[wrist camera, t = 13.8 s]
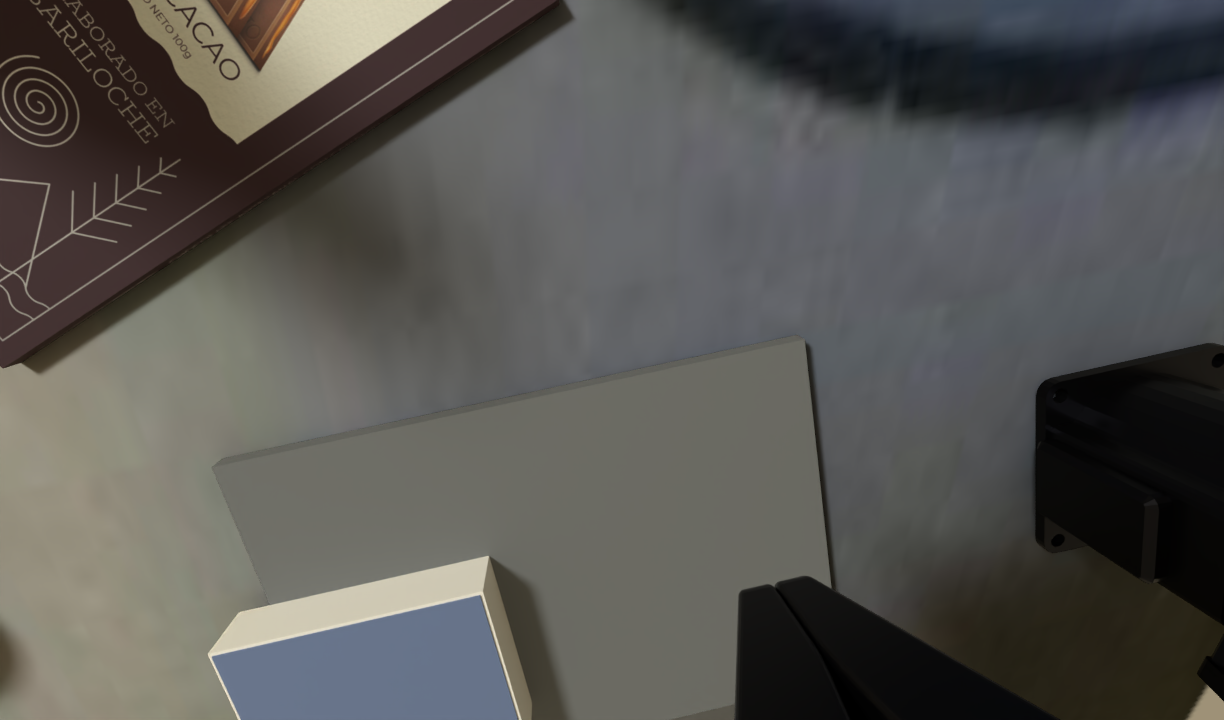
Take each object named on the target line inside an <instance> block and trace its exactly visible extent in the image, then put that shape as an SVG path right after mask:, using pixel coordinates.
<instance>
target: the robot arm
mask: <svg viewBox="0 0 1224 720" xmlns="http://www.w3.org/2000/svg"><path fill="white" fill-rule="evenodd" d="M1057 390H1058V393H1057V395H1056V396H1055V397H1054V398H1053V395H1054V393H1055V392H1056V391H1057ZM1053 537H1054V538H1053ZM1052 538H1053V539H1052ZM1036 541H1037V543H1038V544H1039V545H1040V546H1042V547H1043V548H1045V549H1046V550H1047V551H1049V552H1052V553H1057V552H1062V551H1066V550H1071V549H1075V548H1079V547H1083V546H1090V547H1091V548H1093V549H1095V550H1096V551H1098V552H1099V553H1101V554H1102V555H1104V556H1105V557H1107V558H1108V559H1110V560H1111V561H1113V562H1114V563H1116V564H1117V565H1119V566H1120V567H1122V568H1123V569H1125V570H1126V571H1128V572H1129V573H1131V574H1132V575H1134V576H1135V577H1137V578H1138V579H1140V580H1142V581H1143V582H1145V583H1148V584H1150V583H1155V582H1157V583H1159V584H1160V585H1162V586H1163V587H1165V588H1166V589H1168V590H1170V591H1171V592H1173V593H1174V594H1176V595H1177V596H1179V597H1180V598H1182V599H1183V600H1185V601H1187V602H1188V603H1190V604H1191V605H1193V606H1194V607H1196V608H1197V609H1199V610H1201V611H1202V612H1204V613H1205V614H1207V615H1208V616H1210V617H1211V618H1213V619H1214V620H1216V621H1218V622H1219V623H1221V624H1222V625H1224V346H1223V345H1219V344H1215V343H1206V344H1202V345H1197V346H1193V347H1188V348H1184V349H1179V350H1175V351H1170V352H1166V353H1161V354H1157V355H1152V356H1148V357H1143V358H1139V359H1134V360H1130V361H1125V362H1121V363H1116V364H1112V365H1107V366H1103V367H1098V368H1094V369H1089V370H1085V371H1080V372H1076V373H1071V374H1067V375H1062V376H1058V377H1053V378H1050V379H1047V380H1045V381H1044V382H1043V383H1042V384H1041V385H1040V386H1039V388H1038V390H1037V395H1036ZM1197 674H1198V676H1199V677H1200V678H1201V679H1202V680H1203V681H1204V682H1205V683H1206V684H1207V685H1208V686H1209V687H1210V688H1211V689H1212V690H1213V691H1214V692H1215V693H1216V694H1217V695H1218V696H1219V697H1220V698H1221V699H1222V700H1223V701H1224V635H1223V636H1222V638H1221V640H1220V642H1219V644H1218V646H1217V647H1216V649H1215V651H1214V653H1213V655H1212V657H1211V656H1206V657H1205V659H1204V661H1203V663H1202V665H1201V667H1200V668H1199V670H1198V672H1197ZM734 720H1060V719H1058V718H1056V717H1055V716H1053V715H1051V714H1049V713H1048V712H1046V711H1044V710H1042V709H1041V708H1039V707H1037V706H1036V705H1034V704H1032V703H1030V702H1029V701H1027V700H1025V699H1023V698H1022V697H1020V696H1018V695H1016V694H1015V693H1013V692H1011V691H1009V690H1008V689H1006V688H1004V687H1002V686H1001V685H999V684H997V683H995V682H994V681H992V680H990V679H988V678H987V677H985V676H983V675H981V674H980V673H978V672H976V671H974V670H973V669H971V668H969V667H967V666H966V665H964V664H962V663H961V662H959V661H957V660H955V659H954V658H952V657H950V656H948V655H947V654H945V653H943V652H941V651H940V650H938V649H936V648H934V647H933V646H931V645H929V644H927V643H926V642H924V641H922V640H920V639H919V638H917V637H915V636H913V635H912V634H910V633H908V632H906V631H905V630H903V629H901V628H899V627H898V626H896V625H894V624H892V623H891V622H889V621H887V620H885V619H884V618H882V617H880V616H879V615H877V614H875V613H873V612H872V611H870V610H868V609H866V608H865V607H863V606H861V605H859V604H858V603H856V602H854V601H852V600H851V599H849V598H847V597H845V596H844V595H842V594H840V593H838V592H837V591H835V590H833V589H831V588H830V587H828V586H826V585H824V584H823V583H821V582H819V581H817V580H816V579H814V578H812V577H810V576H799V577H795V578H791V579H786V580H782V581H778V582H777V583H776V584H775V586H772V585H770V584H765V585H760V586H756V587H752V588H747V589H743V590H741V591H740V592H739V595H738V621H737V653H736V686H735V718H734Z"/></svg>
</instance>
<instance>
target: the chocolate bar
mask: <svg viewBox="0 0 1224 720" xmlns="http://www.w3.org/2000/svg"><path fill="white" fill-rule="evenodd" d="M558 5H559V0H0V366H1V367H2V368H6V367H9V366H12V365H15V364H19V363H21V362H23V361H24V360H26V359H27V358H29V357H30V356H32V355H33V354H35V353H36V352H38V351H39V350H41V349H42V348H44V347H45V346H47V345H48V344H50V343H51V342H53V341H54V340H56V339H57V338H59V337H60V336H62V335H63V334H65V333H66V332H68V331H69V330H71V329H72V328H74V327H75V326H77V325H78V324H80V323H81V322H83V321H84V320H86V319H87V318H89V317H90V316H92V315H93V314H95V313H96V312H98V311H99V310H101V309H102V308H104V307H105V306H107V305H108V304H110V303H111V302H113V301H114V300H116V299H117V298H119V297H120V296H122V295H123V294H125V293H126V292H128V291H129V290H131V289H132V288H134V287H135V286H137V285H139V284H140V283H142V282H143V281H145V280H146V279H148V278H149V277H151V276H152V275H154V274H155V273H157V272H158V271H160V270H161V269H163V268H164V267H166V266H167V265H169V264H170V263H172V262H173V261H175V260H176V259H178V258H179V257H181V256H182V255H184V254H185V253H187V252H188V251H190V250H191V249H193V248H194V247H196V246H197V245H199V244H200V243H202V242H203V241H205V240H206V239H208V238H209V237H211V236H212V235H214V234H215V233H217V232H218V231H220V230H221V229H223V228H224V227H226V226H227V225H229V224H230V223H232V222H233V221H235V220H236V219H238V218H239V217H241V216H242V215H244V214H245V213H247V212H248V211H250V210H251V209H253V208H254V207H256V206H257V205H259V204H260V203H262V202H263V201H265V200H266V199H268V198H269V197H271V196H272V195H274V194H275V193H277V192H278V191H280V190H281V189H283V188H284V187H286V186H287V185H289V184H290V183H292V182H294V181H295V180H297V179H298V178H300V177H301V176H303V175H304V174H306V173H307V172H309V171H310V170H312V169H313V168H315V167H316V166H318V165H319V164H321V163H322V162H324V161H325V160H327V159H328V158H330V157H331V156H333V155H334V154H336V153H337V152H339V151H340V150H342V149H343V148H345V147H346V146H348V145H349V144H351V143H352V142H354V141H355V140H357V139H358V138H360V137H361V136H363V135H364V134H366V133H367V132H369V131H370V130H372V129H373V128H375V127H376V126H378V125H379V124H381V123H382V122H384V121H385V120H387V119H388V118H390V117H391V116H393V115H394V114H396V113H397V112H399V111H400V110H402V109H403V108H405V107H406V106H408V105H409V104H411V103H412V102H414V101H415V100H417V99H418V98H420V97H421V96H423V95H424V94H426V93H427V92H429V91H430V90H432V89H433V88H435V87H436V86H438V85H439V84H441V83H442V82H444V81H446V80H447V79H449V78H450V77H452V76H453V75H455V74H456V73H458V72H459V71H461V70H462V69H464V68H465V67H467V66H468V65H470V64H471V63H473V62H474V61H476V60H477V59H479V58H480V57H482V56H483V55H485V54H486V53H488V52H489V51H491V50H492V49H494V48H495V47H497V46H498V45H500V44H501V43H503V42H504V41H506V40H507V39H509V38H510V37H512V36H513V35H515V34H516V33H518V32H519V31H521V30H522V29H524V28H525V27H527V26H528V25H530V24H531V23H533V22H534V21H536V20H537V19H539V18H540V17H542V16H543V15H545V14H546V13H548V12H549V11H551V10H552V9H554V8H555V7H557V6H558Z"/></svg>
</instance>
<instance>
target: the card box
mask: <svg viewBox="0 0 1224 720" xmlns="http://www.w3.org/2000/svg"><path fill="white" fill-rule="evenodd" d="M208 656H209V658H210V660H211V662H212V664H213V667H214V669H215V671H216V673H217V675H218V677H219V679H220V681H221V684H222V686H223V688H224V690H225V692H226V694H227V696H228V698H229V701H230V703H231V705H232V707H233V709H234V711H235V713H236V715H237V718H238V720H531V716H532V701H531V697H530V694H529V690H528V687H527V683H526V680H525V677H524V673H523V670H522V666H521V663H520V660H519V656H518V653H517V649H516V646H515V643H514V639H513V636H512V632H511V629H510V625H509V622H508V619H507V615H506V612H505V608H504V605H503V602H502V598H501V595H500V591H499V588H498V585H497V581H496V578H495V574H494V571H493V567H492V564H491V561H490V557H489V556H485V557H481V558H477V559H472V560H468V561H463V562H459V563H454V564H450V565H446V566H441V567H437V568H432V569H428V570H424V571H419V572H415V573H410V574H406V575H401V576H397V577H393V578H388V579H384V580H379V581H375V582H370V583H366V584H362V585H357V586H353V587H348V588H344V589H340V590H335V591H331V592H326V593H322V594H317V595H313V596H309V597H304V598H300V599H295V600H291V601H286V602H282V603H278V604H273V605H269V606H264V607H260V608H256V609H251V610H247V611H242V612H239V613H238V614H237V616H236V617H235V618H234V620H233V621H232V622H231V624H230V625H229V626H228V628H227V629H226V630H225V632H224V633H223V634H222V636H221V637H220V638H219V640H218V641H217V642H216V644H215V645H214V646H213V648H212V649H211V650H210V652H209V653H208Z"/></svg>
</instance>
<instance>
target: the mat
mask: <svg viewBox="0 0 1224 720" xmlns="http://www.w3.org/2000/svg"><path fill="white" fill-rule="evenodd" d="M212 470H213V472H214V474H215V477H216V479H217V481H218V484H219V486H220V489H221V491H222V493H223V496H224V498H225V500H226V503H227V505H228V508H229V510H230V512H231V515H232V517H233V519H234V522H235V524H236V526H237V529H238V531H239V534H240V536H241V538H242V541H243V543H244V545H245V548H246V550H247V553H248V555H249V557H250V560H251V562H252V564H253V567H254V569H255V571H256V574H257V576H258V579H259V581H260V583H261V586H262V588H263V590H264V593H265V595H266V598H267V600H268V602H269V605H273V604H278V603H282V602H286V601H291V600H295V599H300V598H304V597H309V596H313V595H317V594H322V593H326V592H331V591H335V590H340V589H344V588H348V587H353V586H357V585H362V584H366V583H370V582H375V581H379V580H384V579H388V578H393V577H397V576H401V575H406V574H410V573H415V572H419V571H424V570H428V569H432V568H437V567H441V566H446V565H450V564H454V563H459V562H463V561H468V560H472V559H477V558H481V557H485V556H489V557H490V561H491V564H492V567H493V571H494V574H495V578H496V581H497V585H498V588H499V591H500V595H501V598H502V602H503V605H504V608H505V612H506V615H507V619H508V622H509V625H510V629H511V632H512V636H513V639H514V643H515V646H516V649H517V653H518V656H519V660H520V663H521V666H522V670H523V673H524V677H525V680H526V683H527V687H528V690H529V694H530V697H531V701H532V716H531V720H670V719H674V718H679V717H683V716H687V715H691V714H695V713H700V712H704V711H708V710H712V709H716V708H721V707H725V706H729V705H733V704H735V686H736V653H737V621H738V595H739V592H740V591H741V590H743V589H747V588H752V587H756V586H760V585H765V584H770V585H772V586H775V584H776V583H777V582H778V581H782V580H786V579H791V578H795V577H799V576H810V577H812V578H814V579H816V580H817V581H819V582H821V583H823V584H824V585H826V586H828V587H830V588H831V579H830V570H829V560H828V551H827V542H826V533H825V523H824V514H823V505H822V495H821V486H820V477H819V468H818V458H817V449H816V440H815V430H814V421H813V412H812V403H811V393H810V384H809V375H808V365H807V356H806V347H805V339H803V338H802V337H800V336H798V335H794V336H790V337H785V338H780V339H776V340H771V341H766V342H762V343H757V344H753V345H748V346H743V347H739V348H734V349H729V350H725V351H720V352H715V353H711V354H706V355H701V356H697V357H692V358H688V359H683V360H678V361H674V362H669V363H664V364H660V365H655V366H650V367H646V368H641V369H637V370H632V371H627V372H623V373H618V374H613V375H609V376H604V377H599V378H595V379H590V380H586V381H581V382H576V383H572V384H567V385H562V386H558V387H553V388H548V389H544V390H539V391H535V392H530V393H525V394H521V395H516V396H511V397H507V398H502V399H497V400H493V401H488V402H484V403H479V404H474V405H470V406H465V407H460V408H456V409H451V410H446V411H442V412H437V413H432V414H428V415H423V416H419V417H414V418H409V419H405V420H400V421H395V422H391V423H386V424H381V425H377V426H372V427H368V428H363V429H358V430H354V431H349V432H344V433H340V434H335V435H330V436H326V437H321V438H317V439H312V440H307V441H303V442H298V443H293V444H289V445H284V446H279V447H275V448H270V449H266V450H261V451H256V452H252V453H247V454H242V455H238V456H233V457H228V458H224V459H221V460H220V461H219V462H218V463H217V464H215V465H214V466H213V467H212ZM831 589H832V588H831Z"/></svg>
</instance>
